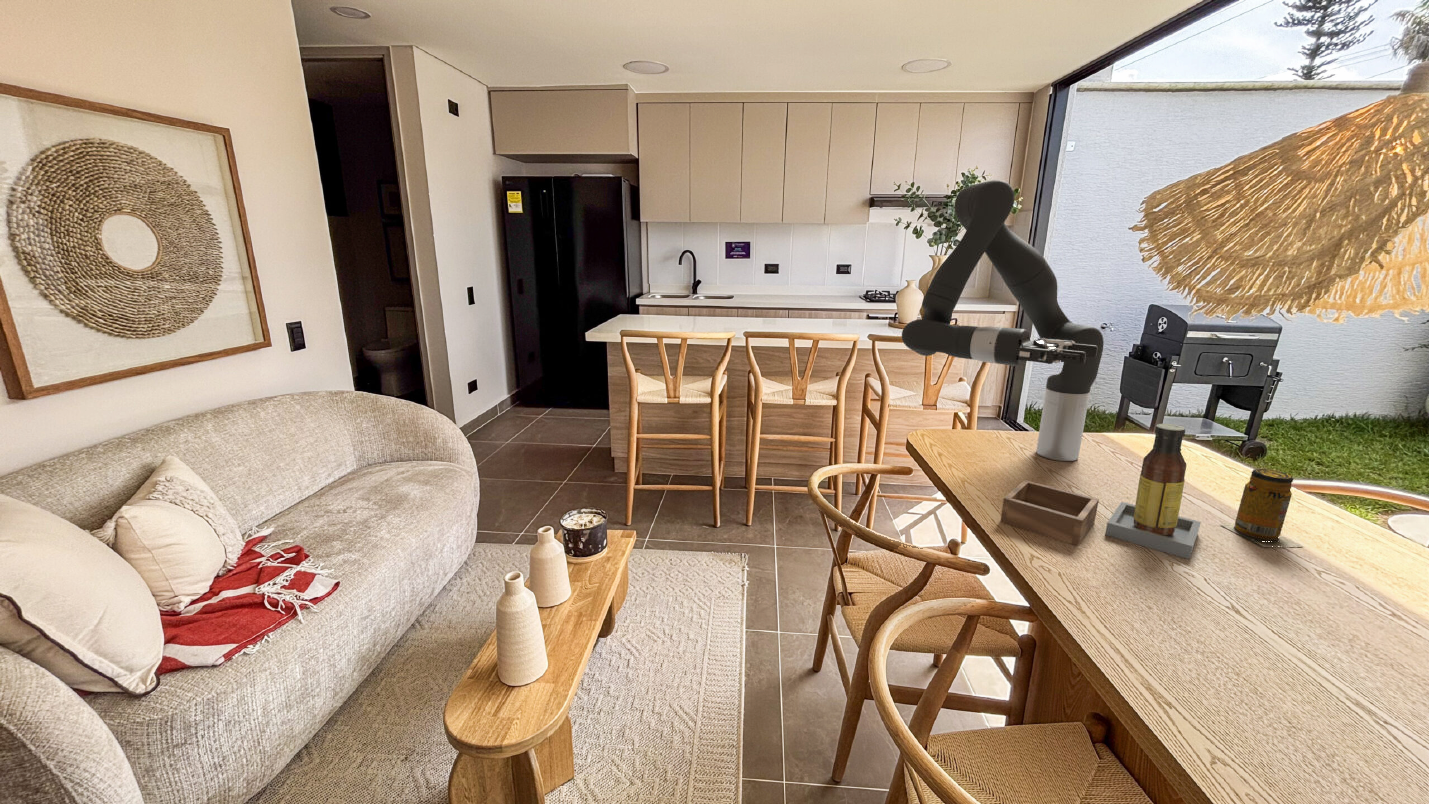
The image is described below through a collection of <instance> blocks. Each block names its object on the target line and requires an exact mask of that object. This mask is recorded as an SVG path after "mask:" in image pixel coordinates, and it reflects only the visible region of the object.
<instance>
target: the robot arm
mask: <svg viewBox="0 0 1429 804" xmlns="http://www.w3.org/2000/svg"><path fill="white" fill-rule="evenodd" d="M1014 204H1015V193H1014V190H1013V188H1012V186H1011V185H1010V184H1009V183H1008V182H1007V181H1004V180H1001V179H995V180H989V181H988V180H987V181H984V182H980V183H976V184H972V185H968V186H966V187H965V188H963V189H961V190H960V191H959V192H958V193H957V195H956V197H955V200H954V213H955V215H956V218H957V220H958V221H959V223H960V224H961V226H962V227H963V228H964V229H965V232H964V235H962V238H961V239H960V240H959V242H958V244H957V245H956V246H955V248H954V249H953V250H952V251H951V253H949V255H948V256H947V257H946V259H944V260H943V262H942V263H941V265H940V267H938V269H937V270H936V272H935V274H934V275H933V277H932V279H931V282H930V283H929V285H928V288H927V290H926V293H925V295H924V296H923V299H922V303H921V305H922V308H923V310H924V311H923V316H922V318H921V319H915V320H912V321H910V322H908V323H907V324H905V326H903V328H902V331H901V340H902V342H903V344H904V345H905V346H906V347H907V348H908V349H910V350H911V351H913V352H915V353H917V354H918V355H921V356H925V357H929V356H932V355H935V354H936V353H942V354H946V355H947V356H950V357H954V358H959V359H967V360H974V361H979V362H982V363H983V362H984V363H989V364H997V365H1006V366H1011V367H1013V366H1014V367H1021V366H1023V364H1024V363H1025V362H1026V361H1027V362H1033V363H1034V362H1035V363H1042V364H1047V365H1052V364H1053V363H1054V364H1057V363H1063V365H1062V368H1061V371H1060V372H1059V373H1057V374H1052V375H1050V376H1048V377H1047V379H1046V385H1045V392H1044V398H1043V405H1042V411H1041V418H1040V424H1039V430H1038V431H1039V432H1038V437H1037V443H1036V450H1035V451H1036V454H1037V455H1039V456H1041V457H1043V458H1046V459H1050V460H1054V461H1060V462H1073V461H1077V460H1078V459H1079V456H1080V450H1081V445H1082V439H1083V436H1084V435H1083V434H1084V428H1085V422H1086V418H1087V417H1086V416H1087V412H1088V411H1087V410H1088V405H1089V400H1090V393H1091V388H1092V386H1093V384H1094V382H1095V381H1096V380H1097V376H1098V374H1099V369H1100V365H1101V360H1102V356H1103V351H1104V337H1103V334H1102V332H1101V330H1099V329H1098V328H1097V327H1094V326H1090V325H1089V326H1088V325H1084V324H1079V323H1074V322H1073V321H1071V320H1070V319H1069V318H1068V317H1067V315H1066V314H1065V313H1064V311H1063V310H1062V308H1061V306H1060V305H1059V303H1058V280H1057V277H1056V275H1055V272H1054V271H1053V270H1052V268H1051V266H1050V265H1049V263H1048V262H1047V260H1046V258H1045V257H1044V255H1042V254H1041V253H1040V252H1039V251H1038V250H1037V249H1036V248H1035V246H1033V245H1031V244H1029V243H1028V242H1027V241H1025V240H1024V239H1023V238H1022V237H1020V236H1018V235H1017V234H1016V233H1014V232H1013V231H1012V230H1011V229H1010V228H1009V227H1008V226H1007V224H1006V223H1005V222H1006V220H1007V219H1008V217H1009V215H1010V213H1012V209H1013V207H1014ZM984 254H985V255H986V256H987V258H988V259H989V261H990V262H991V264H992V265H993V266H994V268H995V270H996V271H997V272H998V273H999V275H1000V277H1001V279H1002V280H1003V282H1004V284H1005V286H1006V287H1007V288H1008V289H1009V291H1010V293H1011V294H1012V295H1013V297H1014V298H1015V300H1016V301H1017V303H1018V304H1019V306H1020V307H1021V308H1022V310H1023V311H1024V313H1025V314H1026V316H1027V317H1028V319H1029V320H1030V321H1031V323H1032V325H1033V327H1034V328H1035V331H1036V332H1037V335H1038V336H1039V338H1037V339H1034V340H1031V339H1030V333H1029V330H1027V329H1025V328H1014V327H1003V326H1002V327H1000V326H973V325H958V324H957V325H956V324H951V322H952V317H953V312H954V310H955V308H956V306H957V305H958V302H959V300H960V297H961V296H962V294H963V291H964V289H965V287H966V285H967V283H968V282H969V278H970V277H971V275H972V273H973V271H974V269H975V268H976V267H977V265H978V263H979V262H980V260H981V258H982V257H983V255H984Z"/></svg>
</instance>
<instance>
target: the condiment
mask: <svg viewBox="0 0 1429 804" xmlns="http://www.w3.org/2000/svg"><path fill="white" fill-rule="evenodd" d="M1293 482H1294V478H1293V477H1292V476H1291V475H1290V474H1288V473H1286V472H1283V471H1280V470H1276V469H1270V468H1254V469H1253V470H1252V471H1251V474H1250V477H1249V481H1247V482H1246V483H1245V485H1244V487H1243V492H1242V497H1241V499H1240V503H1239V507H1238V509H1237V514H1236V517H1235V520H1234V523H1219V525H1220V526H1222V527H1223V528H1226V529H1227V530H1229V531H1231V532H1233V533H1235V534H1237V535H1239V536H1240V537H1244V538H1246V539H1247V540H1249V541H1251V542H1253V543H1255V544H1258V545H1259V546H1261V547H1263V548H1277V549H1279V548H1286V549H1288V548H1299V547H1300V548H1301V547H1303V548H1304V545H1301V544H1300V543H1298V542H1295V541H1294V540H1293V539H1289V538H1287V537H1285V536H1283V535H1282V534H1281V532H1282V530H1283V529H1282V528H1283V526H1284V523H1285V519H1286V516H1287V512H1288V509H1289V506H1290V502H1291V498H1292V495H1293V493H1292V491H1291V489H1292V487H1293V485H1292V483H1293ZM1278 537H1279V538H1278ZM1279 540H1280V541H1281V542H1280V541H1279ZM1262 541H1265V542H1262ZM1266 541H1267V542H1266ZM1268 541H1270V542H1268ZM1271 541H1272V542H1271ZM1278 541H1279V542H1278ZM1272 546H1273V547H1272ZM1278 546H1280V547H1278ZM1281 546H1282V547H1281Z"/></svg>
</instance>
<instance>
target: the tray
mask: <svg viewBox="0 0 1429 804" xmlns="http://www.w3.org/2000/svg"><path fill="white" fill-rule="evenodd" d="M1135 505H1136V504H1133V503H1132V504H1131V503H1128V502H1124V501H1121V502H1119V505H1118V506H1117V508H1116V509H1115V511H1114V512H1113V514H1112V515H1111V517H1109V519H1108V521H1107V522H1106V528H1105V533H1104V534H1105V536H1108V537H1111V538H1114V539H1118V540H1122V541H1125V542H1129V543H1132V544H1136V545H1138V546H1142V547H1145V548H1149V549H1153V550H1156V551H1159V552H1163V553H1166V554H1169V555H1174V556H1176V557H1180V558H1183V559H1186V560H1190V558H1191V555H1192V553H1193V550H1194V546H1195V544H1196V540H1197V538H1198V535H1199V530H1200V527H1201V522H1202V521H1200V520H1195V519H1191V518H1188V517H1184V516H1180V515H1178V521H1177V526H1175V532H1174V533H1173V535H1169V536H1162V535H1159V534H1155V533H1151V532H1148V531H1144V530H1141V529H1138V528H1137V527H1136V526H1135V525H1134V511H1135Z"/></svg>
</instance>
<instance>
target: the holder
mask: <svg viewBox="0 0 1429 804" xmlns="http://www.w3.org/2000/svg"><path fill="white" fill-rule="evenodd" d="M1099 501H1100V498H1097V497H1092V496H1089V495H1088V496H1087V495H1085V494H1081V493H1077V492H1073V491H1069V490H1065V489H1061V488H1057V487H1053V486H1049V485H1046V484H1041V483H1037V482H1034V481H1030V480H1026V479H1023V480H1022V482H1021V483H1019V484H1018V485H1017V486H1016V487H1015V488H1014V489H1013V490H1011V491H1010V492H1009V493H1008V494H1007V495H1006V496H1004V497H1003V501H1002V508H1001V509H1002V510H1001V514H1000V523H1004V524H1006V525H1009V526H1013V527H1016V528H1019V529H1022V530H1025V531H1028V532H1029V531H1030V532H1031V533H1035V534H1038V535H1041V536H1044V537H1045V536H1046V537H1048V538H1051V539H1054V540H1058V541H1059V542H1060V541H1061V542H1064V543H1067V544H1070V545H1073V546H1076V547H1078V546H1079V545H1080V544H1081V542H1082V541H1083V540H1084V538H1085V536H1086V535H1087V534H1088V533H1089V531H1090V529H1092V527H1093V526H1094V524H1095V523H1096V522H1095V521H1096V516H1097V510H1098V507H1099Z"/></svg>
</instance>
